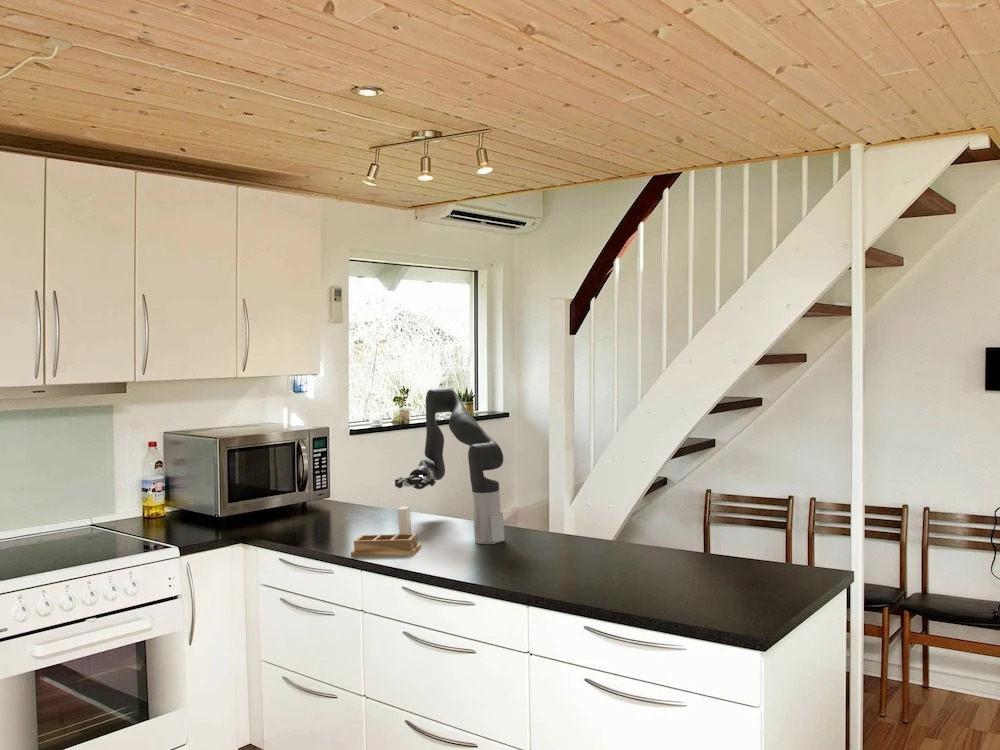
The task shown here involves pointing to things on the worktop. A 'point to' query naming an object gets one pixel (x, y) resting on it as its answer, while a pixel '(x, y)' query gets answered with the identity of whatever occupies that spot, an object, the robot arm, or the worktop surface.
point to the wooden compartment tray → (386, 545)
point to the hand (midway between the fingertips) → (410, 485)
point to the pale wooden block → (404, 520)
